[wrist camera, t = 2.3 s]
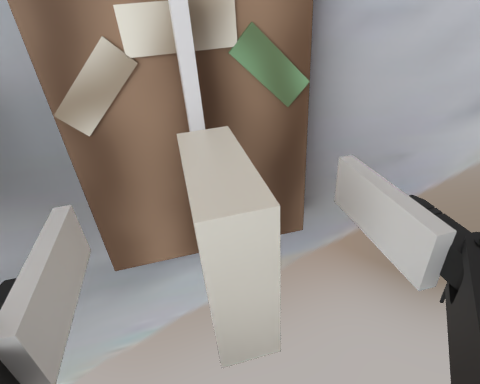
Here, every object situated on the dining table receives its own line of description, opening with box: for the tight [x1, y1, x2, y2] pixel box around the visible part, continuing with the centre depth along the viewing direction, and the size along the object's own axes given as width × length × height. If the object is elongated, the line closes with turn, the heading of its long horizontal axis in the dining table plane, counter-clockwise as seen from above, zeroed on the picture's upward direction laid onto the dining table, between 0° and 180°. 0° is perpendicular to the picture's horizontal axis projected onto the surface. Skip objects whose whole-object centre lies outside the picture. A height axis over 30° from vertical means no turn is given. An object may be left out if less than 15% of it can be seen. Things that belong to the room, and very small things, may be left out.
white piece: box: [168, 0, 281, 368], centre depth 14 cm, size 2×12×12 cm, turn 4°
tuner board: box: [7, 0, 313, 271], centre depth 18 cm, size 15×28×3 cm, turn 4°
